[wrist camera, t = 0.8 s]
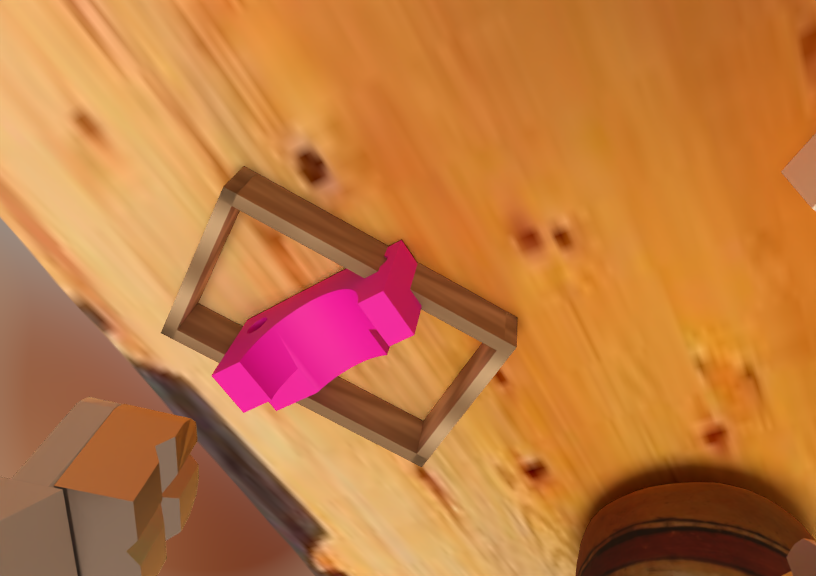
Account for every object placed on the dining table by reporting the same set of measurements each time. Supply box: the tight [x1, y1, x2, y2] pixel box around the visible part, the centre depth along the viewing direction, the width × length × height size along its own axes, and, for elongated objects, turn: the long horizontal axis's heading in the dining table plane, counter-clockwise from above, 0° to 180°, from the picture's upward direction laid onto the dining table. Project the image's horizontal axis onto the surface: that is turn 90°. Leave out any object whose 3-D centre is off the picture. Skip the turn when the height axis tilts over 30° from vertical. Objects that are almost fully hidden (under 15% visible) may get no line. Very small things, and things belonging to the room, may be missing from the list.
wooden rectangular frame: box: [161, 166, 517, 467], centre depth 55 cm, size 14×23×4 cm, turn 62°
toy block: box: [212, 240, 422, 413], centre depth 53 cm, size 15×6×8 cm, turn 123°
